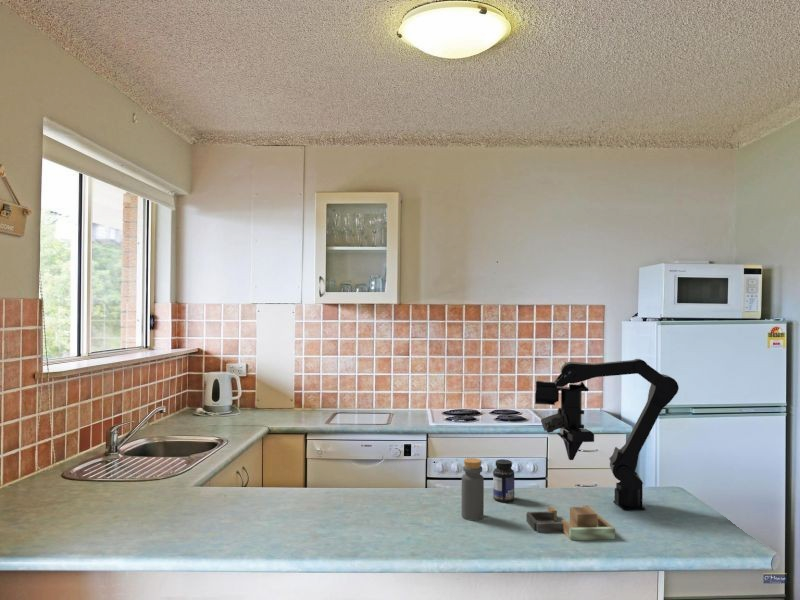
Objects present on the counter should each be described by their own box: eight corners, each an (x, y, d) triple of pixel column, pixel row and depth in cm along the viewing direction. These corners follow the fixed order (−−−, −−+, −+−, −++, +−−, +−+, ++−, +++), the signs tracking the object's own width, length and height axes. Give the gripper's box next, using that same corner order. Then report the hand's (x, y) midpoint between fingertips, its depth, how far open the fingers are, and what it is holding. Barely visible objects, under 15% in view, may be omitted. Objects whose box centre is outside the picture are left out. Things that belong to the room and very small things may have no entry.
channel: (587, 514, 154) (587, 505, 154) (614, 538, 138) (614, 528, 138) (522, 516, 152) (522, 506, 152) (542, 540, 136) (542, 530, 136)
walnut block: (588, 526, 146) (588, 507, 146) (597, 534, 141) (597, 514, 141) (569, 527, 145) (569, 507, 145) (577, 534, 140) (577, 514, 140)
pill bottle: (513, 496, 168) (513, 458, 168) (515, 503, 162) (515, 464, 162) (492, 495, 169) (492, 458, 169) (493, 502, 163) (493, 463, 163)
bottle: (458, 518, 150) (458, 461, 151) (466, 511, 156) (466, 456, 156) (479, 522, 148) (479, 464, 148) (486, 514, 153) (486, 459, 153)
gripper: (533, 400, 173) (533, 451, 173) (555, 411, 155) (555, 469, 154) (569, 400, 174) (569, 451, 174) (595, 411, 155) (594, 468, 155)
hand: (570, 459), depth 164 cm, fingers closed
